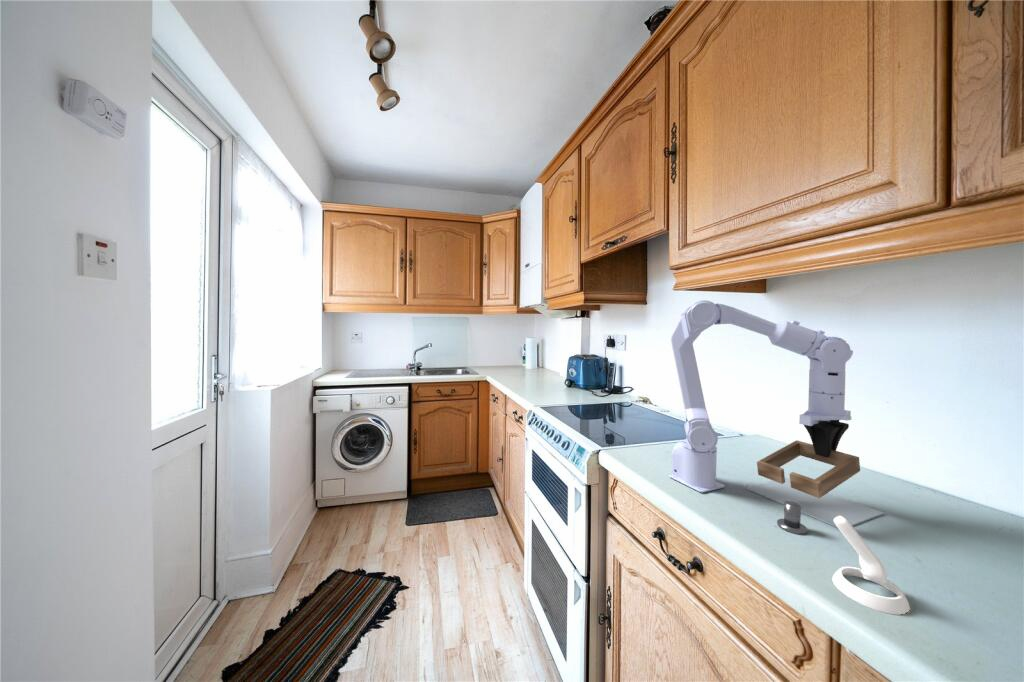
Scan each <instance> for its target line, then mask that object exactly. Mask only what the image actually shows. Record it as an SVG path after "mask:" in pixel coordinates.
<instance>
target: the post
mask: <svg viewBox="0 0 1024 682" xmlns="http://www.w3.org/2000/svg"><path fill="white" fill-rule="evenodd" d="M783 506H784V509H783V510H784V511H783V513H784V514H783V518H779V519H777V521H776V524H777V526H778V527H779V528H780V529H782V530H783V531H786V532H788V533H791V534H795V535H807V533H808V527H807V526H805V524H803V523H801V519H802V518H801V517H802V516H801V515H802V512H801V505H799V504H798V503H795V502H791V501H785V503H784V505H783Z"/></svg>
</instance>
